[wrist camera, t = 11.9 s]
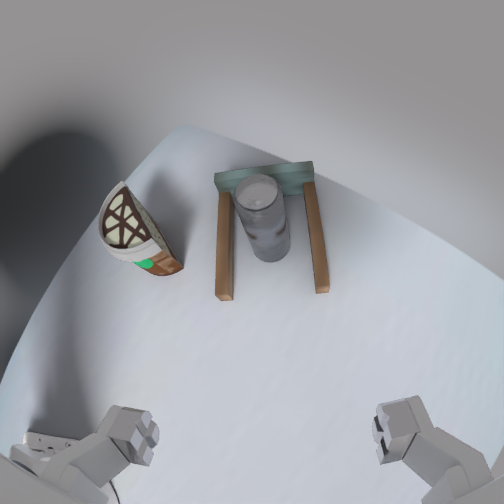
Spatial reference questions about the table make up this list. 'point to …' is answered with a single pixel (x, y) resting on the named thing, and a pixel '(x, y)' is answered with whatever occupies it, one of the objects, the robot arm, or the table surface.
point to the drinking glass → (263, 216)
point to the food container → (134, 234)
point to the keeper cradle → (292, 182)
